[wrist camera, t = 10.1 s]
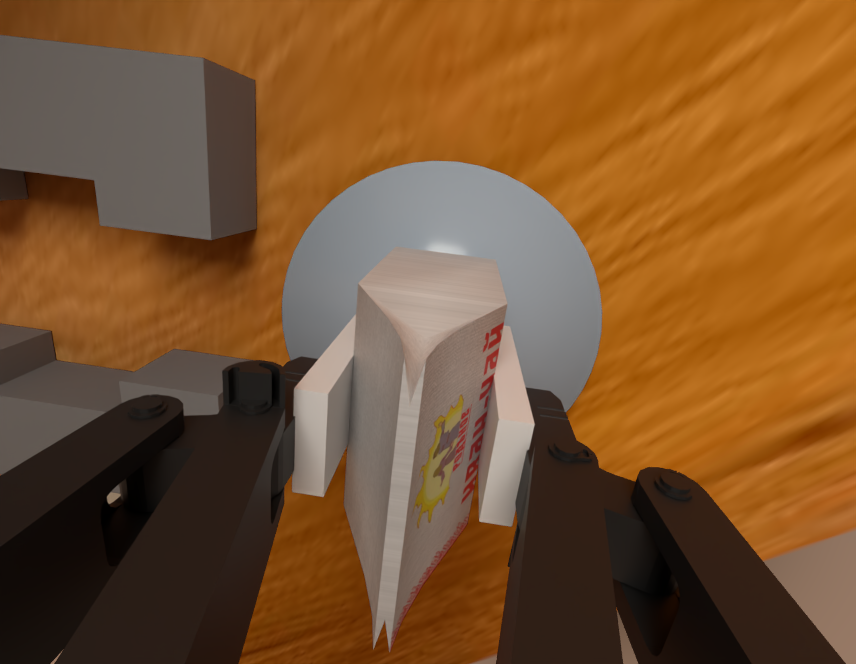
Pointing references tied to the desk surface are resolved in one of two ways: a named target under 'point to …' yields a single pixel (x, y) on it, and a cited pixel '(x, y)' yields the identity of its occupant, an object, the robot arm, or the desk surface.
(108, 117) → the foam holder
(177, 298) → the desk surface
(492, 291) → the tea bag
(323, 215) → the blue-grey round plate
